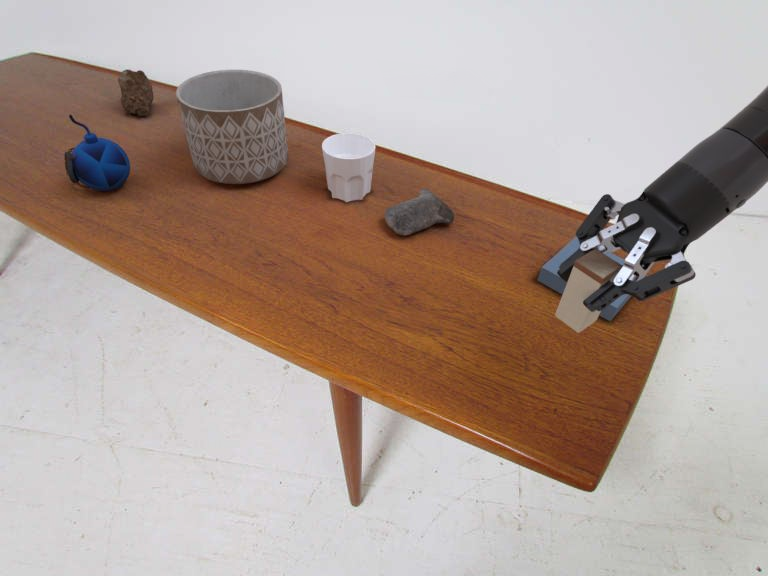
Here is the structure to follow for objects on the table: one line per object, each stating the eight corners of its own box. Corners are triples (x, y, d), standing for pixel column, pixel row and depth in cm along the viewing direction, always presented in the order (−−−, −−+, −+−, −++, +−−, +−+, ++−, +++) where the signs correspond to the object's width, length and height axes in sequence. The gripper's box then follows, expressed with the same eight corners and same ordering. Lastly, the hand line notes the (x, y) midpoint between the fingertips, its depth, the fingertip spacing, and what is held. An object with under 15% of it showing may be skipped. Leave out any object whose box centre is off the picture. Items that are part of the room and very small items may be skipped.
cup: (380, 200, 98) (382, 155, 92) (331, 208, 96) (329, 162, 89) (365, 174, 105) (366, 130, 98) (318, 181, 102) (316, 136, 96)
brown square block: (597, 320, 61) (623, 265, 55) (578, 334, 59) (603, 279, 53) (572, 302, 63) (595, 248, 57) (553, 315, 62) (574, 260, 55)
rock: (142, 120, 118) (122, 76, 112) (124, 119, 121) (103, 77, 114) (170, 104, 124) (152, 62, 118) (152, 104, 127) (134, 63, 121)
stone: (380, 223, 97) (400, 252, 90) (374, 202, 94) (394, 230, 87) (435, 199, 99) (459, 225, 92) (431, 177, 95) (456, 203, 88)
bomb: (73, 181, 98) (40, 108, 88) (131, 169, 103) (106, 97, 92) (79, 207, 92) (44, 131, 82) (141, 193, 97) (115, 119, 86)
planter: (177, 182, 100) (154, 102, 88) (221, 138, 114) (207, 64, 102) (267, 198, 97) (256, 117, 86) (302, 151, 111) (296, 76, 99)
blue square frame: (641, 284, 84) (648, 271, 82) (609, 321, 77) (617, 308, 75) (571, 248, 90) (576, 235, 88) (537, 280, 83) (541, 267, 81)
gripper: (648, 133, 54) (526, 241, 60) (757, 206, 45) (600, 327, 50) (666, 169, 59) (553, 265, 65) (768, 241, 50) (625, 347, 55)
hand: (574, 291), depth 57 cm, fingers closed on brown square block, 4 cm apart
